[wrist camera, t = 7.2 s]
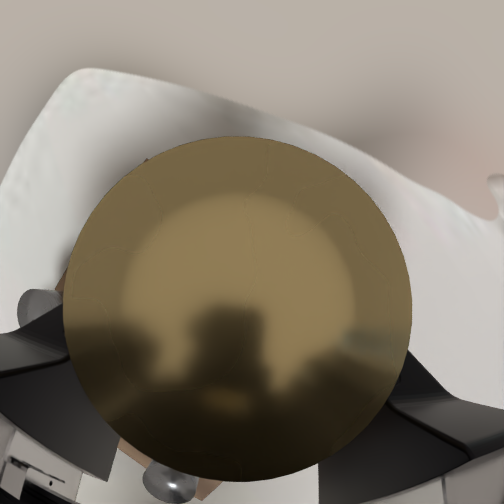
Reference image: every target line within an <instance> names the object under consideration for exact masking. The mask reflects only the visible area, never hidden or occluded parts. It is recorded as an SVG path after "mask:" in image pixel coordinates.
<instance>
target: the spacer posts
mask: <svg viewBox="0 0 504 504" xmlns="http://www.w3.org/2000/svg"><path fill="white" fill-rule="evenodd" d="M63 294H64V291H57V290H40V289H30V290H27V291H26V292H25V293H24V294H23V295H22V296H21V298H20V300H19V303H18V308H17V317H18V322H19V325H20V328H21V327H23V326H24V325H26V324H28V323H29V322H31V321H33V320H34V319H36V318H38V317H39V316H41V315H43V314H44V313H46V312H48V311H50V310H51V309H53V308H55V307H56V306H58V305H60V304H61V303H63ZM198 480H199V477H196V476H192V475H188V474H185V473H181V472H179V471H176V470H174V469H171V468H169V467H167V466H164V465H162V464H160V463H158V462H156V461H154V460H153V459H152V460H151V462H150V464H149V466H148V467H147V469H146V471H145V473H144V475H143V484H144V486H145V488H146V489H147V491H148V492H149V493H150V494H151V495H153V496H154V497H155V498H157V499H159V500H161V501H164V502H167V503H172V504H181V503H185V502H188V501H190V500H191V499H192V498H193V497H194V496H195V493H196V489H197V485H198Z"/></svg>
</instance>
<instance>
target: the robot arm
mask: <svg viewBox="0 0 504 504" xmlns="http://www.w3.org/2000/svg"><path fill="white" fill-rule="evenodd" d="M119 440H120V436H119V435H118V434H117V433H116V432H115V431H114V430H113V429H112V428H111V427H110V426H109V425H108V424H107V423H106V422H105V420H104V419H103V418H102V416H101V415H100V414H99V413H98V411H97V410H96V409H95V407H94V406H93V405H92V403H91V401H90V400H89V398H88V396H87V395H86V393H85V391H84V389H83V388H82V386H81V384H80V382H79V379H78V377H77V375H76V372H75V370H74V367H73V365H72V362H71V358H70V355H69V351H68V347H67V343H66V337H65V330H64V322H63V303H61V304H60V305H58V306H56V307H55V308H53V309H51V310H50V311H48V312H46V313H44V314H43V315H41V316H39V317H38V318H36V319H34V320H33V321H31V322H29V323H28V324H26V325H24V326H23V327H21V328H19V329H17V330H15V331H12V332H9V333H3V334H0V504H80V503H78V502H75V500H76V496H77V492H78V489H79V485H80V481H81V477H82V474H83V473H85V474H87V475H90V476H92V477H95V478H98V479H100V480H103V481H106V482H107V481H108V478H109V475H110V471H111V468H112V464H113V461H114V457H115V454H116V450H117V447H118V444H119ZM318 475H319V504H504V410H503V409H498V408H494V407H489V406H485V405H481V404H477V403H473V402H469V401H465V400H461V399H459V398H457V397H455V396H453V395H451V394H450V393H449V392H448V391H446V390H445V389H444V388H443V387H442V385H441V384H440V383H439V382H438V381H437V380H436V379H435V378H434V377H433V376H432V375H431V374H430V373H429V372H428V371H427V370H426V369H425V367H424V366H423V365H422V364H421V363H420V362H419V361H418V360H417V359H416V358H415V357H414V356H413V355H412V354H411V352H410V351H409V350H407V353H406V357H405V360H404V364H403V367H402V370H401V372H400V374H399V377H398V379H397V381H396V384H395V386H394V388H393V390H392V392H391V393H390V395H389V397H388V398H387V400H386V402H385V403H384V405H383V406H382V408H381V409H380V411H379V412H378V413H377V414H376V416H375V417H374V418H373V419H372V421H371V422H370V423H369V424H368V425H367V426H366V427H365V428H364V429H363V430H362V431H361V432H360V433H359V434H358V435H357V436H356V437H355V438H354V439H353V440H352V441H351V442H349V443H348V444H347V445H345V446H344V447H343V448H341V449H340V450H339V451H337V452H336V453H334V454H333V455H331V456H330V457H328V458H326V459H324V460H322V461H321V462H319V463H318Z"/></svg>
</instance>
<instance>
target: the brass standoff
mask: <svg viewBox="0 0 504 504" xmlns="http://www.w3.org/2000/svg"><path fill="white" fill-rule="evenodd" d="M63 322H64V330H65V337H66V343H67V347H68V351H69V355H70V358H71V362H72V365H73V367H74V370H75V372H76V375H77V377H78V379H79V382H80V384H81V386H82V388H83V389H84V391H85V393H86V395H87V396H88V398H89V400H90V401H91V403H92V405H93V406H94V407H95V409H96V410H97V411H98V413H99V414H100V415H101V416H102V418H103V419H104V420H105V422H106V423H107V424H108V425H109V426H110V427H111V428H112V429H113V430H114V431H115V432H116V433H117V434H118V435H119V436H120V437H121V438H122V439H124V440H125V441H126V442H128V443H129V444H130V445H131V446H133V447H134V448H135V449H137V450H138V451H139V452H141V453H143V454H144V455H146V456H148V457H149V458H151V459H153V460H154V461H156V462H158V463H160V464H162V465H164V466H167V467H169V468H171V469H174V470H176V471H179V472H181V473H185V474H188V475H192V476H196V477H199V478H204V479H210V480H217V481H225V482H251V481H260V480H268V479H273V478H277V477H281V476H285V475H289V474H293V473H295V472H298V471H301V470H303V469H306V468H308V467H311V466H313V465H315V464H317V463H319V462H321V461H322V460H324V459H326V458H328V457H330V456H331V455H333V454H334V453H336V452H337V451H339V450H340V449H341V448H343V447H344V446H345V445H347V444H348V443H349V442H351V441H352V440H353V439H354V438H355V437H356V436H357V435H358V434H359V433H360V432H361V431H362V430H363V429H364V428H365V427H366V426H367V425H368V424H369V423H370V422H371V421H372V419H373V418H374V417H375V416H376V414H377V413H378V412H379V411H380V409H381V408H382V406H383V405H384V403H385V402H386V400H387V398H388V397H389V395H390V393H391V392H392V390H393V388H394V386H395V384H396V381H397V379H398V377H399V374H400V372H401V370H402V367H403V364H404V360H405V357H406V353H407V350H408V346H409V340H410V333H411V326H412V296H411V287H410V280H409V275H408V271H407V267H406V263H405V260H404V256H403V253H402V251H401V248H400V246H399V244H398V241H397V239H396V236H395V234H394V232H393V231H392V229H391V227H390V225H389V224H388V222H387V220H386V218H385V217H384V215H383V214H382V212H381V211H380V210H379V208H378V207H377V206H376V204H375V203H374V202H373V200H372V199H371V198H370V197H369V196H368V195H367V194H366V192H365V191H364V190H363V189H362V188H361V187H360V186H359V185H358V184H357V183H356V182H355V181H353V180H352V179H351V178H350V177H348V176H347V175H346V174H345V173H343V172H342V171H341V170H339V169H338V168H337V167H335V166H334V165H332V164H330V163H329V162H327V161H325V160H324V159H322V158H320V157H318V156H317V155H315V154H312V153H310V152H308V151H305V150H303V149H300V148H298V147H296V146H293V145H289V144H286V143H282V142H278V141H274V140H270V139H263V138H255V137H218V138H210V139H203V140H199V141H195V142H191V143H187V144H183V145H180V146H178V147H175V148H173V149H170V150H168V151H165V152H163V153H160V154H158V155H157V156H155V157H153V158H151V159H150V160H148V161H146V162H144V163H143V164H141V165H139V166H138V167H137V168H135V169H134V170H133V171H131V172H130V173H129V174H127V175H126V176H125V177H124V178H122V179H121V180H120V181H119V182H118V183H117V184H116V185H115V186H114V187H113V188H112V189H111V190H110V191H109V192H108V193H107V194H106V195H105V196H104V198H103V199H102V200H101V201H100V203H99V204H98V205H97V207H96V208H95V209H94V211H93V212H92V213H91V215H90V217H89V218H88V220H87V222H86V223H85V225H84V227H83V229H82V230H81V232H80V235H79V237H78V239H77V242H76V244H75V246H74V249H73V251H72V254H71V258H70V262H69V265H68V269H67V273H66V278H65V286H64V294H63Z"/></svg>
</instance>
